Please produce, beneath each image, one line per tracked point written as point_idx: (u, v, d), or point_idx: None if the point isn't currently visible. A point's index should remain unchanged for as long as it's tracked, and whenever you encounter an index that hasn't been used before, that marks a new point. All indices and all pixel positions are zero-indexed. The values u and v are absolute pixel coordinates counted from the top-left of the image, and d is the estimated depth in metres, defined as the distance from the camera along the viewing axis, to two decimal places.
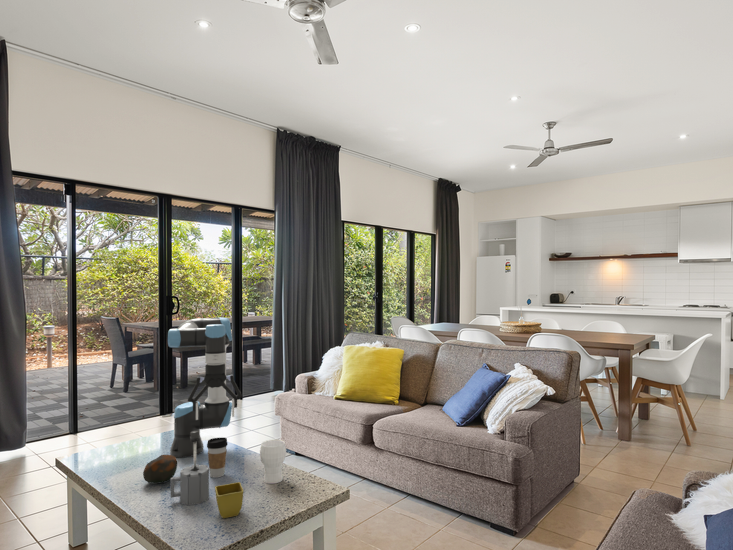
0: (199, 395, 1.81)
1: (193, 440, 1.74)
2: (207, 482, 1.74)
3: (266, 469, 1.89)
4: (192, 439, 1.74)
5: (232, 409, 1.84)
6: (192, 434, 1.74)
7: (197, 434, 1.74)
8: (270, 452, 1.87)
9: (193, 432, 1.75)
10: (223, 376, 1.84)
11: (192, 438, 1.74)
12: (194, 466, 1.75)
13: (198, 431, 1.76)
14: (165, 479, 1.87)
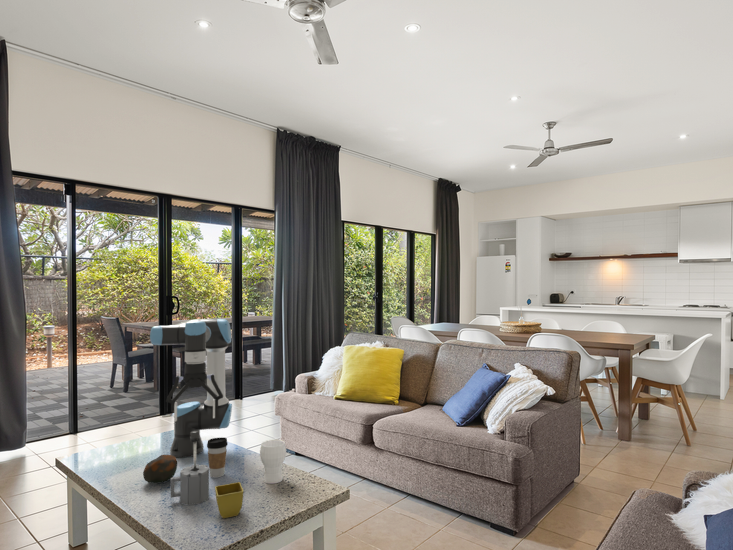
0: (178, 395, 1.73)
1: (193, 440, 1.74)
2: (207, 482, 1.74)
3: (266, 469, 1.89)
4: (192, 439, 1.74)
5: (213, 410, 1.76)
6: (192, 434, 1.74)
7: (197, 434, 1.74)
8: (270, 452, 1.87)
9: (193, 432, 1.75)
10: (203, 375, 1.76)
11: (192, 438, 1.74)
12: (194, 466, 1.75)
13: (198, 431, 1.76)
14: (165, 479, 1.87)
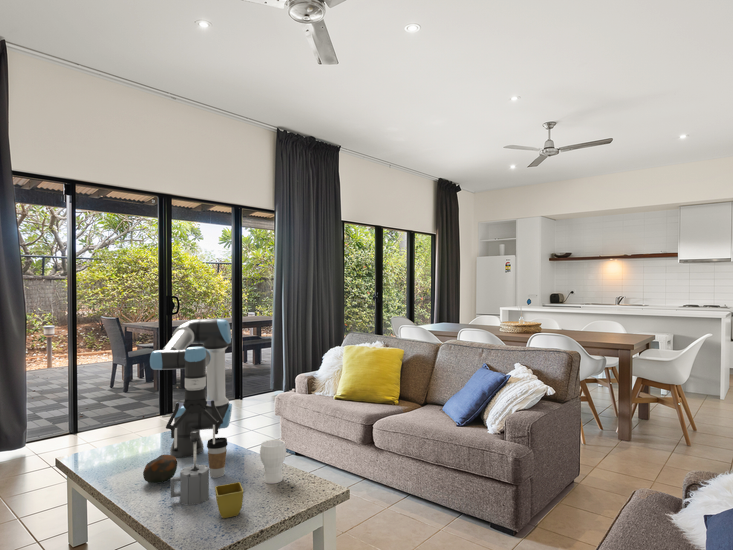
0: (178, 422, 1.73)
1: (193, 440, 1.74)
2: (207, 482, 1.74)
3: (266, 469, 1.89)
4: (192, 439, 1.74)
5: (213, 436, 1.76)
6: (192, 434, 1.74)
7: (197, 434, 1.74)
8: (270, 452, 1.87)
9: (193, 432, 1.75)
10: (203, 401, 1.76)
11: (192, 438, 1.74)
12: (194, 466, 1.75)
13: (198, 431, 1.76)
14: (165, 479, 1.87)
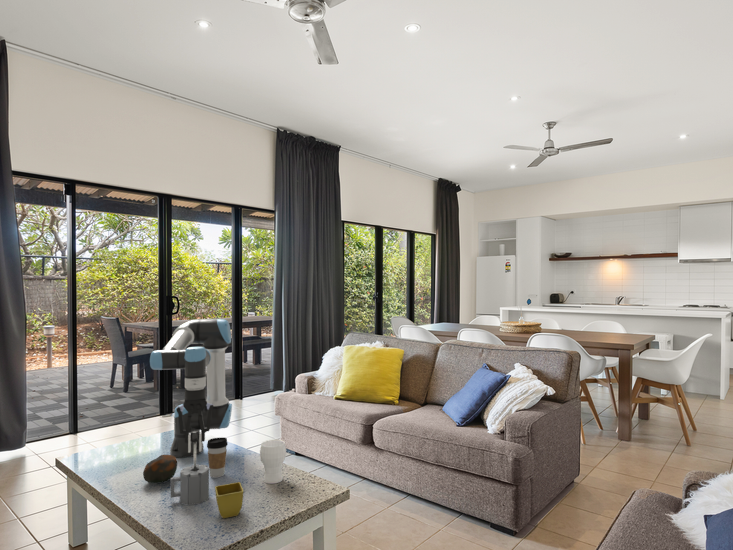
0: (188, 425, 1.74)
1: (193, 440, 1.74)
2: (207, 482, 1.74)
3: (266, 469, 1.89)
4: (192, 439, 1.74)
5: (199, 443, 1.75)
6: (192, 434, 1.74)
7: (197, 434, 1.74)
8: (270, 452, 1.87)
9: (193, 432, 1.75)
10: (204, 402, 1.76)
11: (192, 438, 1.74)
12: (194, 466, 1.75)
13: (198, 431, 1.76)
14: (165, 479, 1.87)
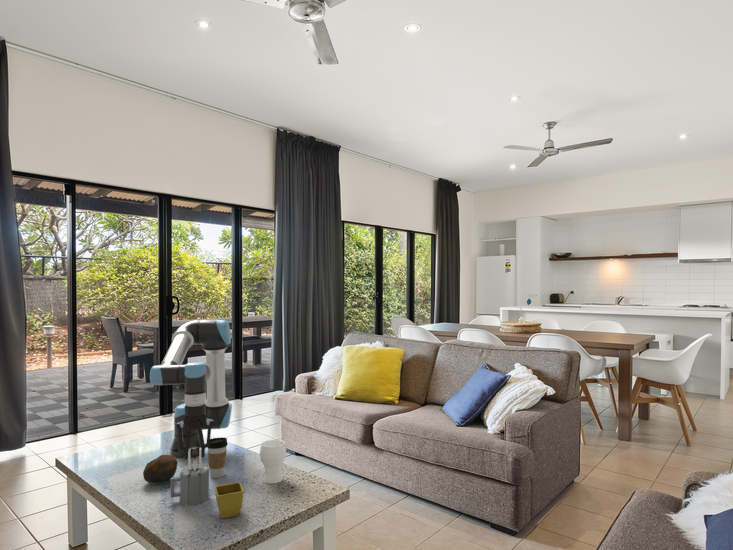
0: (188, 441, 1.73)
1: (193, 456, 1.74)
2: (207, 482, 1.74)
3: (266, 469, 1.89)
4: (192, 455, 1.74)
5: (199, 459, 1.74)
6: (192, 450, 1.74)
7: (197, 450, 1.74)
8: (270, 452, 1.87)
9: (193, 448, 1.75)
10: (204, 417, 1.76)
11: (192, 454, 1.74)
12: None
13: (198, 447, 1.76)
14: (165, 479, 1.87)
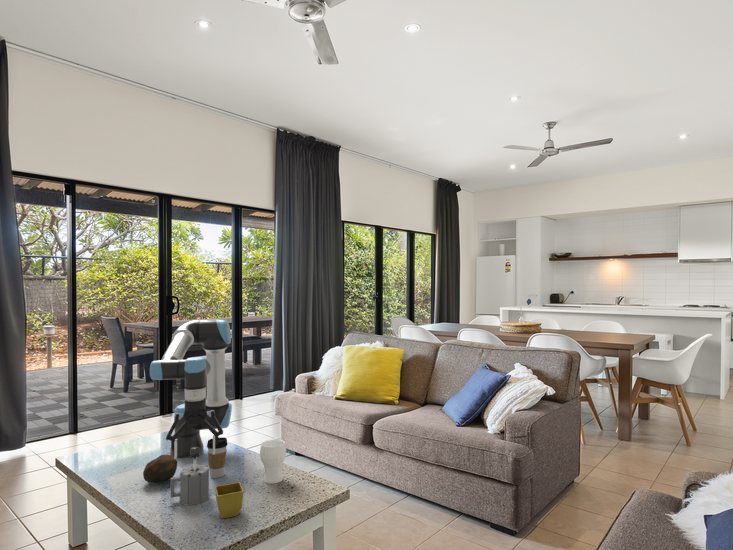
0: (178, 433, 1.73)
1: (193, 456, 1.74)
2: (207, 482, 1.74)
3: (266, 469, 1.89)
4: (192, 455, 1.74)
5: (213, 446, 1.76)
6: (192, 450, 1.74)
7: (197, 450, 1.74)
8: (270, 452, 1.87)
9: (193, 448, 1.75)
10: (203, 412, 1.76)
11: (192, 454, 1.74)
12: None
13: (198, 447, 1.76)
14: (165, 479, 1.87)
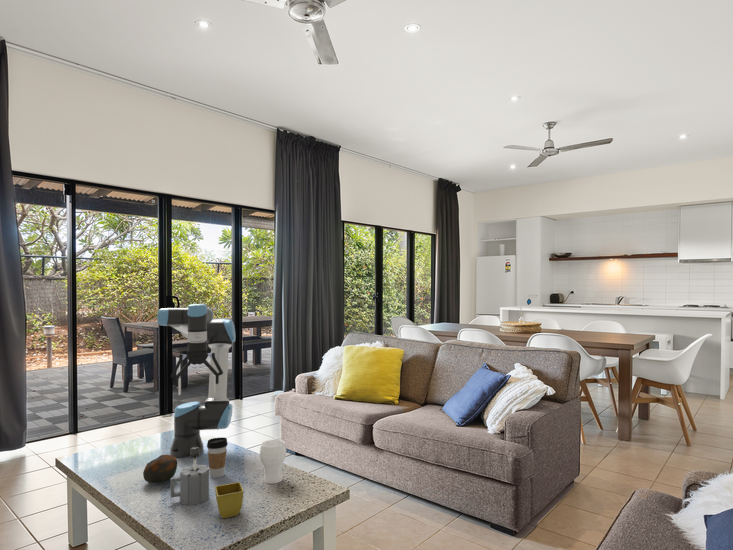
0: (181, 371, 1.89)
1: (193, 456, 1.74)
2: (207, 482, 1.74)
3: (266, 469, 1.89)
4: (192, 455, 1.74)
5: (213, 385, 1.92)
6: (192, 450, 1.74)
7: (197, 450, 1.74)
8: (270, 452, 1.87)
9: (193, 448, 1.75)
10: (205, 354, 1.92)
11: (192, 454, 1.74)
12: None
13: (198, 447, 1.76)
14: (165, 479, 1.87)
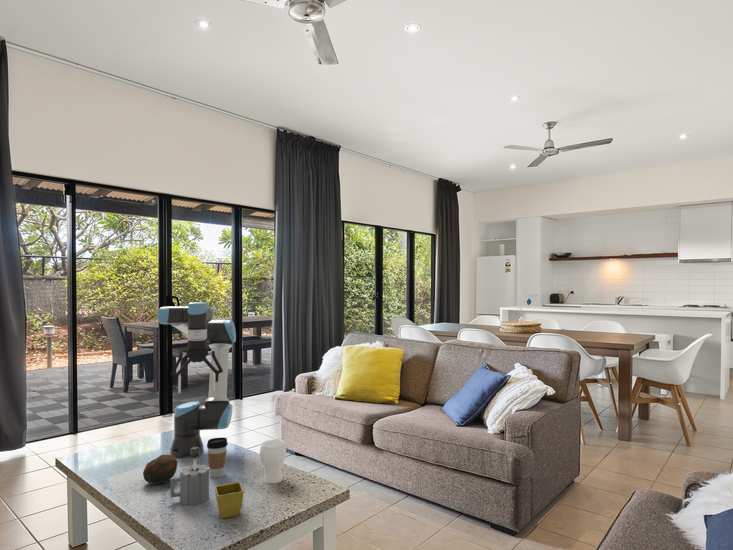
0: (181, 369, 1.89)
1: (193, 456, 1.74)
2: (207, 482, 1.74)
3: (266, 469, 1.89)
4: (192, 455, 1.74)
5: (213, 383, 1.93)
6: (192, 450, 1.74)
7: (197, 450, 1.74)
8: (270, 452, 1.87)
9: (193, 448, 1.75)
10: (205, 351, 1.92)
11: (192, 454, 1.74)
12: None
13: (198, 447, 1.76)
14: (165, 479, 1.87)
